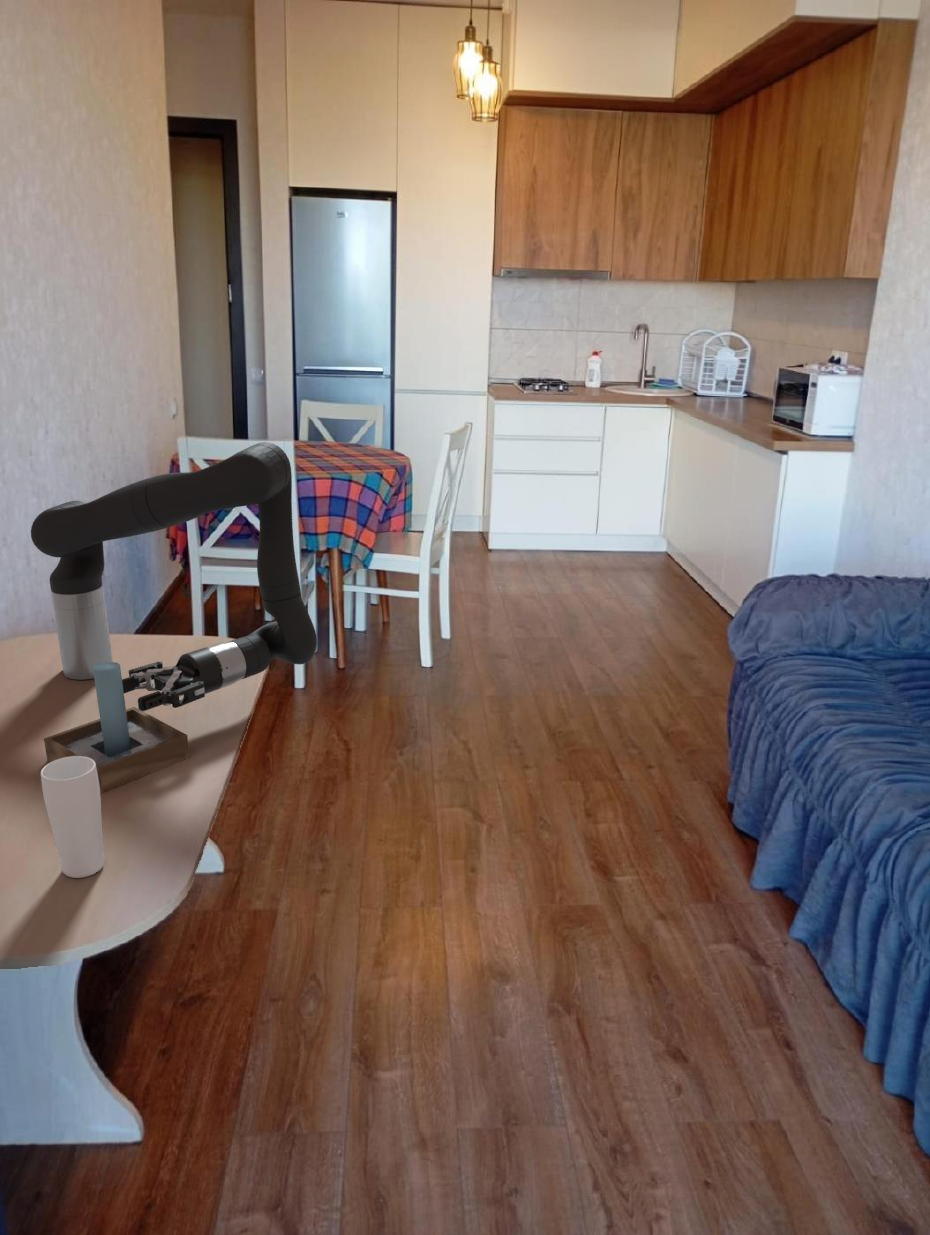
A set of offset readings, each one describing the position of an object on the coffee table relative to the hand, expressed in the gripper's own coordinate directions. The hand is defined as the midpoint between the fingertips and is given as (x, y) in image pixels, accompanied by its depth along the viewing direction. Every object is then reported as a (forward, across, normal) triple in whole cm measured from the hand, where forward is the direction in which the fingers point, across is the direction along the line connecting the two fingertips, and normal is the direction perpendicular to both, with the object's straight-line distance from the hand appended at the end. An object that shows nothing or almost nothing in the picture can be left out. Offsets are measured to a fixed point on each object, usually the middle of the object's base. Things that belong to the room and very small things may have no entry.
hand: (125, 697), depth 159 cm
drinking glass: (+21, +25, +10) cm, 34 cm away
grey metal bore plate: (+3, 0, +10) cm, 10 cm away
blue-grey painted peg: (+3, 0, +10) cm, 10 cm away
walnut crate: (+3, 0, +10) cm, 10 cm away
